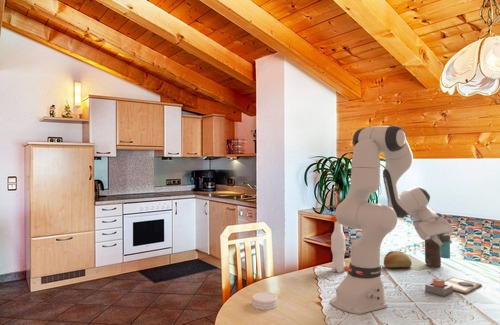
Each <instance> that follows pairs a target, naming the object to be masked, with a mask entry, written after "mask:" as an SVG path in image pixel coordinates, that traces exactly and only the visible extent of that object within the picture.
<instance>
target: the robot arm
mask: <svg viewBox="0 0 500 325" xmlns="http://www.w3.org/2000/svg"><path fill="white" fill-rule="evenodd" d="M352 145H353V151H352V156H351V174H350V183H349V184H350V186H349V190H348V192H347V194H346V196H345V198H344V199H343V200H342V201H341V202H339V204H337V206H336V209H335V214H334V216H335V219H336V222H337V221H338V223H340V224H341V226H344V227H347V228H350V229H351V228H352V229H356V230H361V236H360V238H359V237H358V238H357V239H355V240H354V241H353V242H352V243H351V244H350V263H349V266H347V265H346V266H345V268H344V272H347V275H346V276H345V277H344V279H343V280H342V281H341V282H340V283H339V284H338V286H337V288H336V295H335V297H333V298H331V299H329V303H330V305H332V306H333V307H335V308H337V309H339V310H342V311H344V312H347V313H350V314H356V315H361V314H365V313H369V312H373V311H377V310H381V309H385V308H388V303H387V302H386V298H385V287H384V283H383V281H382V278H381V276H382V266H381V263H380V262H381V261H380V258H381V248H382V247H381V245H382V243H383V241H384V239H385V237H386V236H387V235H388V234H389V233H391V232H392V231H393V230H394V229H395V228H396V227H397V224H398V219H404V218H406V217H407V216H409V215H411V216H412V219H413V223H412V225H413V227H414V230H415V232H416V233H417V235H418V237H419V238H420V239H421V240H423V241H425V240H426V239H432V240H433V241H435V242H436V243H438V245H439V246H443V245H444V243H443V241H441V240H439V239H438V237H439V235H440V234H448V235H450V236H451V235H452V234H453V233H454V232H455V230H454V227H453V226H452V225H451V223H450V222H449V221H448V220H447V219H445V218H444V215H443V213H441V212H437V211H434V210H432V209H431V208H430V207H428V204H429V202H430V199H431V195H430V193H428V191H427V189H425V188H424V187H422V186H419V185H417V186H413V187H411V188H409V189H405V190H403V191H402V192H400V194H398V193H399V192H398V187H397V184H398V181H399V180H400V178H401V177H402V176H403V175H404V174H405V173H406V172H407V171H408V170H409V169H410V168H411V166H412V164H413V163H414V162H413V161H414V156H413V152H412V150H411V148H410V145H409V143H408V141H407V133H406V132H405V130H404V129H403V128H402V127H401V126H400V125H399V126H398V125H375V126H369V127H362V128H359V129H357V130H356V131H355V132H354V134H353V137H352ZM380 153H382V154H383V157H384V159H385V167H384V169H383V170H382V177H383V184H384V189H385V192H386V193H385V194H386V198H387V205H384V204H382V203H374V202H373V203H371V202H368V200H369V197H370V195H372V194H373V193H375V192H377V191H378V190H379V188H380V187H381V156H380ZM452 243H453V241H452V240H451V239H450V245H452Z"/></svg>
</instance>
